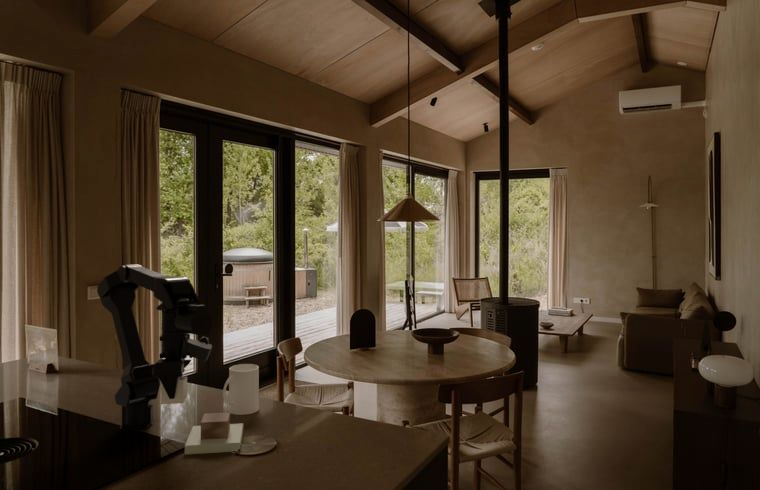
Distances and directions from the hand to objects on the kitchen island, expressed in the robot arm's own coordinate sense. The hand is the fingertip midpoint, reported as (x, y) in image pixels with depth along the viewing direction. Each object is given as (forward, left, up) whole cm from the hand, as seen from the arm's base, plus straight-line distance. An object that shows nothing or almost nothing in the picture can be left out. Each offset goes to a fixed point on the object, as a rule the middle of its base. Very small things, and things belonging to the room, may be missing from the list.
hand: (174, 395), depth 126 cm
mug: (+14, +18, -11) cm, 25 cm away
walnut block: (+10, -3, -9) cm, 14 cm away
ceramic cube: (0, 0, -1) cm, 1 cm away
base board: (+10, -3, -11) cm, 15 cm away
